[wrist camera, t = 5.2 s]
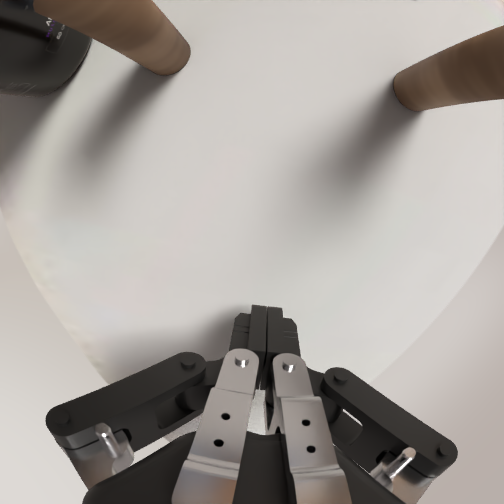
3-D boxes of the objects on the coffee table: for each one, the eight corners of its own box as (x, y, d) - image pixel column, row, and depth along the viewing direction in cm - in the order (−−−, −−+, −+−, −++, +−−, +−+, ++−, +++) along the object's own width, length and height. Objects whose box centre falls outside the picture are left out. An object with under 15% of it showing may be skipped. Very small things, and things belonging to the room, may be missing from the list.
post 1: (151, 38, 11) (49, -36, 2) (193, 35, 11) (115, -64, 2) (144, 76, 12) (23, 25, 3) (187, 74, 12) (87, -3, 3)
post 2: (394, 64, 11) (504, 7, 2) (430, 78, 11) (548, 47, 2) (392, 103, 12) (518, 72, 3) (429, 116, 12) (557, 110, 3)
